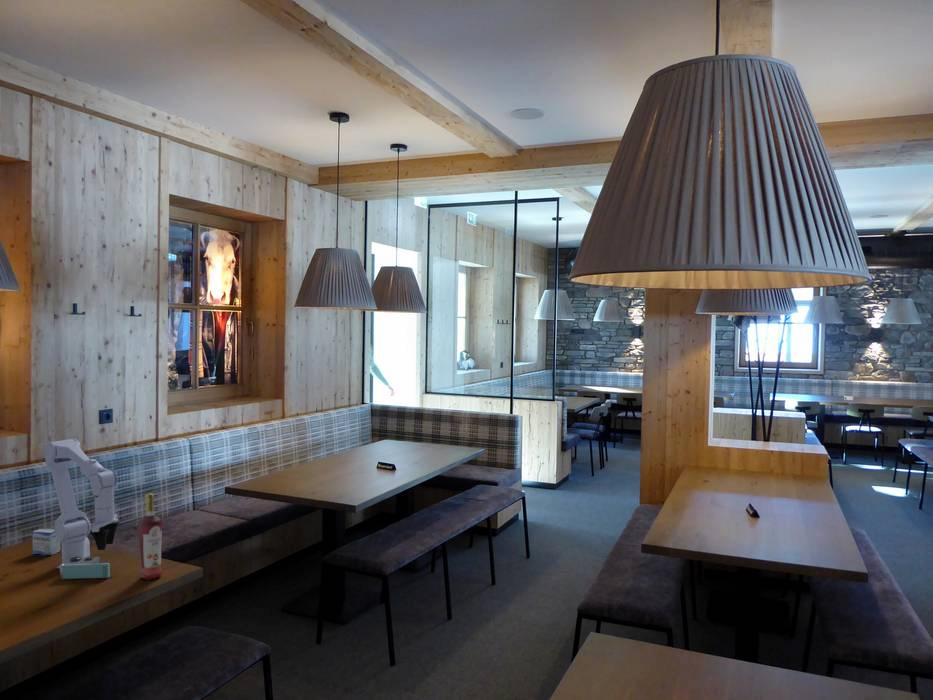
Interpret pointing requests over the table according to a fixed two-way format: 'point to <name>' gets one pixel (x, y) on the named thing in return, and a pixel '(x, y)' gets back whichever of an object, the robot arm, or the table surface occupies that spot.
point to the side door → (84, 570)
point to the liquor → (150, 541)
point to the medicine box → (45, 542)
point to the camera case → (83, 560)
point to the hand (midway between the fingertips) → (105, 546)
